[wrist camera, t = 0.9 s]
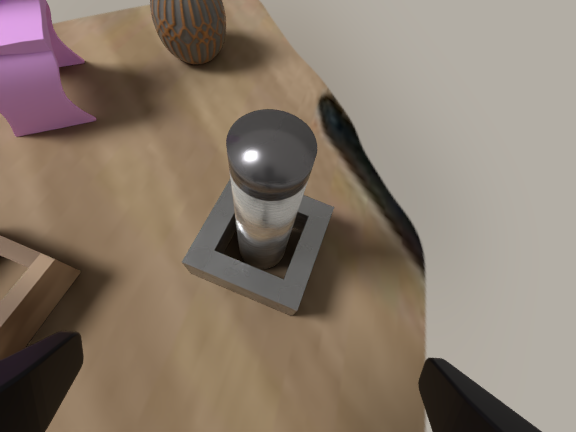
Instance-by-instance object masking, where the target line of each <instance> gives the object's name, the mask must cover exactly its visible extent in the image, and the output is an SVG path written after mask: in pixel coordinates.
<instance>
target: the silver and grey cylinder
mask: <svg viewBox="0 0 576 432" xmlns="http://www.w3.org/2000/svg"><path fill="white" fill-rule="evenodd" d="M226 146H227V154H228V162H229V170H230V178H231V186H232V194H233V202H234V210H235V218H236V227H237V235H238V243H239V250H240V254H241V257H242V258H243V260H244V261H245V262H246V263H247V264H248V265H250V266H253V267H255V268H257V269H267V268H271V267H273V266H275V265H276V264H277V263H279V261H280V260H281V259H282V257H283V255H284V252H285V249H286V246H287V243H288V240H289V237H290V234H291V231H292V228H293V225H294V222H295V219H296V215H297V212H298V209H299V206H300V203H301V200H302V197H303V194H304V191H305V188H306V185H307V182H308V179H309V176H310V173H311V170H312V167H313V164H314V161H315V158H316V154H317V142H316V139H315V136H314V134H313V132H312V130H311V129H310V128H309V126H308V125H307V124H306V123H305V122H303V121H302V120H301V119H299V118H298V117H296V116H294V115H292V114H290V113H287V112H284V111H280V110H273V109H265V110H257V111H254V112H250V113H248V114H246V115H244V116H242V117H241V118H239V119H238V120H237V121H236V122H235V123H234V124H233V125H232V127H231V128H230V130H229V132H228V135H227V140H226Z"/></svg>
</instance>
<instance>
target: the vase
mask: <svg viewBox="0 0 576 432" xmlns="http://www.w3.org/2000/svg"><path fill="white" fill-rule="evenodd" d="M150 8H151V15H152V19H153V22H154V25H155V28H156V31H157V33H158V35H159V37H160V39H161V41H162V42H163V44H164V45H165V47H166V48H167V49H168V50H169V51H170V52H171V53H172V54H173V55H174V56H175V57H177V58H179V59H180V60H182V61H184V62H187V63H190V64H204V63H207V62H209V61H210V60H212V59H213V58H214V57H215V56H216V55H217V54H218V53H219V52H220V50H221V49H222V46H223V44H224V40H225V35H226V16H225V10H224V6H223V2H222V0H150Z"/></svg>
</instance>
